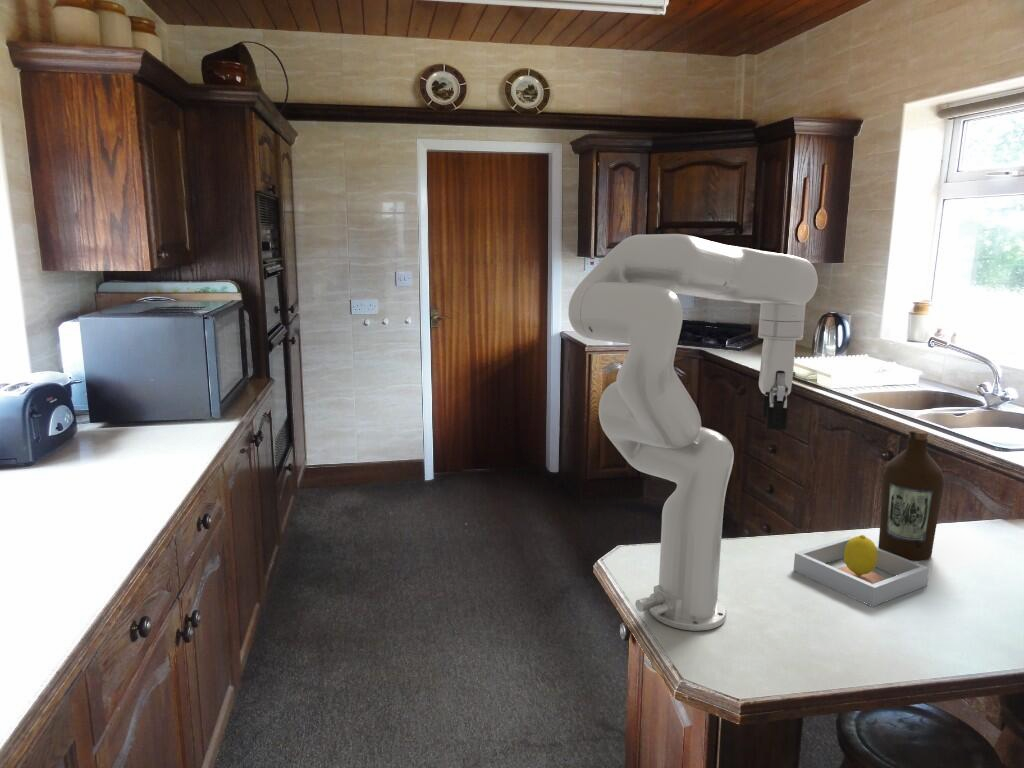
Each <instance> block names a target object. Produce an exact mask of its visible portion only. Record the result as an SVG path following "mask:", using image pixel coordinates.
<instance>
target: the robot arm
mask: <svg viewBox="0 0 1024 768" xmlns="http://www.w3.org/2000/svg"><path fill="white" fill-rule="evenodd" d="M818 284H819V282H818V273H817V271H816V268H815V266H814V265H813V264H812V262H810V261H809V260H808V259H805V258H803V257H799V256H795V255H791V254H784V253H777V252H772V251H766V250H760V249H753V248H749V247H742V246H737V245H736V246H735V245H730V244H729V245H728V244H724V243H720V242H716V241H711V240H708V239H704V238H700V237H697V236H695V235H694V236H693V235H688V234H682V233H662V234H661V233H659V234H658V233H657V234H654V233H653V234H634V235H631V236H628V237H627V238H624V239H623V240H622V241H621V242H619V243H617V245H616V246H614V247H613V248H612V249H611V250H610V251H609V252H608V253H607V254H606V255H605V256H604V257H603V258H602V259H601V260H600V261H599V262H598V263H597V264H596V266H595V267H594V268H593V269H592V270H591V271H589V273H588V274H587V275H586V276H585V277H584V278H583V279H582V280H581V282H580V283H579V284H578V285H577V286H576V288H575V290H574V291H573V293H572V295H571V298H570V299H569V303H568V320H569V323H570V325H571V327H572V328H573V330H574V331H575V332H576V333H577V334H578V335H580V336H581V337H584V338H585V339H590V340H594V341H603V342H611V343H619V344H626V345H630V346H629V349H628V351H627V352H628V353H627V355H626V357H625V360H624V361H623V363H622V364H621V365H620V368H619V369H618V372H617V375H616V380H615V381H614V382H612V383H610V384H609V385H608V386H607V387H606V388H605V389H604V391H603V392H602V394H601V396H600V399H599V403H598V417H599V423H600V427H601V429H602V431H603V432H604V434H605V435H606V437H607V438H608V439H609V441H610V442H611V443H612V444H613V445H614V447H615V448H616V449H617V451H618V452H619V453H620V454H621V456H622V457H623V458H624V459H625V460H626V461H627V463H628V464H629V465H630V466H631V467H633V468H634V469H635V470H637V471H639V472H640V473H644V474H647V475H650V476H654V477H656V478H657V477H658V478H661V479H664V480H668V481H670V482H673V483H675V484H676V488H675V490H674V491H673V492H672V493H671V495H669V497H667V499H666V501H665V502H664V505H663V506H662V513H661V532H660V533H661V535H660V550H659V551H660V555H659V573H658V574H659V575H658V584H657V585H653V593H651V594H650V595H649V596H648V597H643V598H639V599H637V600H636V601H635V603H634V605H635V608H636V611H638V612H639V613H641V612H642V613H643V612H646V611H649V613H650V614H651V615H652V617H653V618H655V619H656V620H657V621H659V622H661V623H662V624H664V625H666V626H669V627H672V628H675V629H680V630H684V631H690V632H691V631H695V632H698V631H708V630H709V631H710V630H714V629H717V628H718V627H720V626H721V625H723V624H724V622H725V621H726V619H727V608H726V606H725V604H724V603H723V602H721V601H720V599H718V594H719V592H718V591H719V582H720V581H719V579H720V565H721V563H720V562H721V551H722V535H723V534H722V533H723V521H724V520H723V518H724V510H725V509H724V506H725V501H726V499H725V498H726V493H727V488H728V483H729V481H730V477H731V473H732V470H733V464H734V456H735V453H734V448H733V445H732V443H731V442H730V440H729V439H728V438H727V437H726V436H725V435H723V434H722V433H720V432H718V431H716V430H714V429H712V428H711V429H710V428H707V427H704V426H702V419H701V418H702V417H701V415H700V412H699V409H698V407H697V405H696V403H695V402H694V400H693V399H692V397H691V395H690V393H689V392H688V390H687V389H686V387H685V386H684V384H683V383H682V381H681V379H680V378H679V376H678V374H677V372H676V370H675V367H674V362H675V356H676V351H677V347H678V342H679V339H680V334H681V332H682V331H681V330H682V325H683V317H684V316H683V315H684V314H683V312H684V311H683V307H682V303H681V301H680V299H679V297H678V295H683V296H691V297H698V298H703V299H704V298H705V299H708V300H717V301H727V302H728V301H730V302H742V303H747V304H760V308H759V322H758V335H757V338H759V339H763V342H762V349H761V358H760V367H759V368H760V371H759V379H758V387H759V390H760V392H761V393H762V394H763V399H762V400H763V401H762V402H763V403H762V417H763V418H766V424H765V425H766V426H765V427H766V429H768V430H778V431H784V430H786V429H787V419H788V396H789V395H790V393H792V386H793V385H792V384H793V378H794V367H795V366H794V365H795V358H796V357H795V356H796V355H795V354H796V341H802V340H804V339H803V338H804V329H805V328H804V327H805V315H806V305H807V303H808V302H810V300H812V298H813V297H814V295H815V294H816V291H817V288H818ZM677 294H678V295H677Z"/></svg>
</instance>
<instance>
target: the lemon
mask: <svg viewBox="0 0 1024 768" xmlns="http://www.w3.org/2000/svg"><path fill="white" fill-rule="evenodd" d="M851 538H852V539H850V540H849V541H848V543H847V544H846V547H845V551H844V558H843V560H844V564H845V565H846V566H845V567H848V568H849V569H850V570H851V571H852V572H854V573H855V574H856V575H857V576H861V575H863V574H868V573H870V572H871V571H873V572H874V569H875V568H876V567H875V566H876V564H877V559H878V554H877V549H876V547H877V546H876V545H875V542H874V541H872V540H871V538H868V537H867V536H866V535H864V534H861V535H858V536H854V537H851Z"/></svg>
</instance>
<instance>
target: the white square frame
mask: <svg viewBox="0 0 1024 768" xmlns="http://www.w3.org/2000/svg"><path fill="white" fill-rule="evenodd" d="M852 538H853V537H850V536H847V537H844V538H840V539H837V540H833V541H831V542H827V543H824V544H820V545H818V546H814V547H810V548H807V549H804V550H800V551H797V552H795V553H794V559H793V561H794V562H793V572H797V573H798V572H799V573H798V574H800V573H801V575H802V574H803V575H802V576H805V577H807V576H808V577H807V578H809V577H810V578H809V579H811V578H812V579H811V580H813V579H814V580H813V581H815V580H816V581H815V582H817V581H818V583H820V584H822V583H823V584H822V585H824V586H826V585H827V586H826V587H828V586H829V587H828V588H830V587H831V588H830V589H833V588H834V589H833V590H835V591H837V590H838V591H837V592H839V591H840V592H839V593H841V592H842V594H843V593H844V594H843V595H845V594H846V595H845V596H848V595H849V596H848V597H850V596H851V597H850V598H852V597H853V598H852V599H854V598H856V599H857V600H856V599H855V600H856V601H858V600H860V601H863V602H865V603H867V604H868V605H867V604H866V605H867V606H869V605H871V606H874V607H875V605H876V606H878V605H877V604H879V605H881V604H880V603H882V602H884V603H886V602H885V601H887V600H889V601H891V600H890V599H892V600H894V599H896V598H895V597H897V598H899V597H898V596H900V595H902V596H904V595H903V594H905V595H907V594H909V592H910V593H912V592H911V591H913V592H915V591H917V589H918V590H920V589H922V587H923V588H925V587H927V586H928V580H929V574H930V573H929V572H930V567H928V566H925V565H924V564H920V563H919V562H916V561H911V560H908V559H905V558H902V557H900V556H897V555H895V554H892V553H889V552H887V551H884V550H882V549H880V548H879V547H877V546H876V549H877V554H878V559H877V564H876V566H875V568H876V567H877V569H878V568H879V570H881V571H883V570H884V571H883V572H886V571H887V572H886V573H888V572H889V573H888V574H891V573H892V574H891V575H893V574H894V575H893V576H891V577H889V578H885V579H884V578H883V577H882V576H881V575H880V574H878V573H877V572H875V571H874V570H873V571H871V572H870V573H868V574H863V575H861V576H857V575H856V574H855V573H854V572H852V571H851V570H850V569H849V568H848V567H847V566H840V567H837V568H836V567H834V566H832V565H830V564H828V563H827V562H829V563H831V561H832V562H834V560H835V561H838V560H841V559H844V551H845V547H846V544H847V543H848V541H849V540H850V539H852ZM825 563H826V564H825ZM895 575H897V576H895ZM914 590H915V591H914ZM906 593H907V594H906ZM900 597H901V596H900ZM893 598H894V599H893ZM860 601H859V602H860ZM863 602H862V603H863ZM887 602H888V601H887ZM865 603H864V604H865ZM882 604H883V603H882ZM871 606H870V607H871Z"/></svg>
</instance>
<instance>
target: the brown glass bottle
mask: <svg viewBox="0 0 1024 768" xmlns="http://www.w3.org/2000/svg"><path fill="white" fill-rule="evenodd" d="M908 434H909V436H908V437H907V443H906V445H907V446H906V449H904V450H903V451H902V452H900V453H899V454H897V455H896V456H895V457H893V458H892V459H891V460H890V461H888V462H887V464H886V466H885V467H884V470H883V473H882V483H881V484H882V485H881V504H880V505H881V506H880V520H879V535H878V548H879V549H882V550H884V551H887V552H889V553H892V554H895V555H897V556H900V557H902V558H905V559H908V560H910V561H913V562H916V561H917V562H923V561H927V560H929V559H930V558H932V554H933V549H934V544H935V543H934V541H935V537H936V536H935V535H936V530H937V524H938V521H939V519H938V518H939V513H940V507H941V504H942V498H943V494H944V488H945V477H944V473H943V471H942V469H941V467H940V466H939V465H938V463H937V462H936V461H935V460H934V459H933V457H931V456H930V454H929V453H928V451H927V447H928V441H929V440H928V435H929V433H928V432H927V431H926V430H923V429H910V430H909V431H908Z"/></svg>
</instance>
